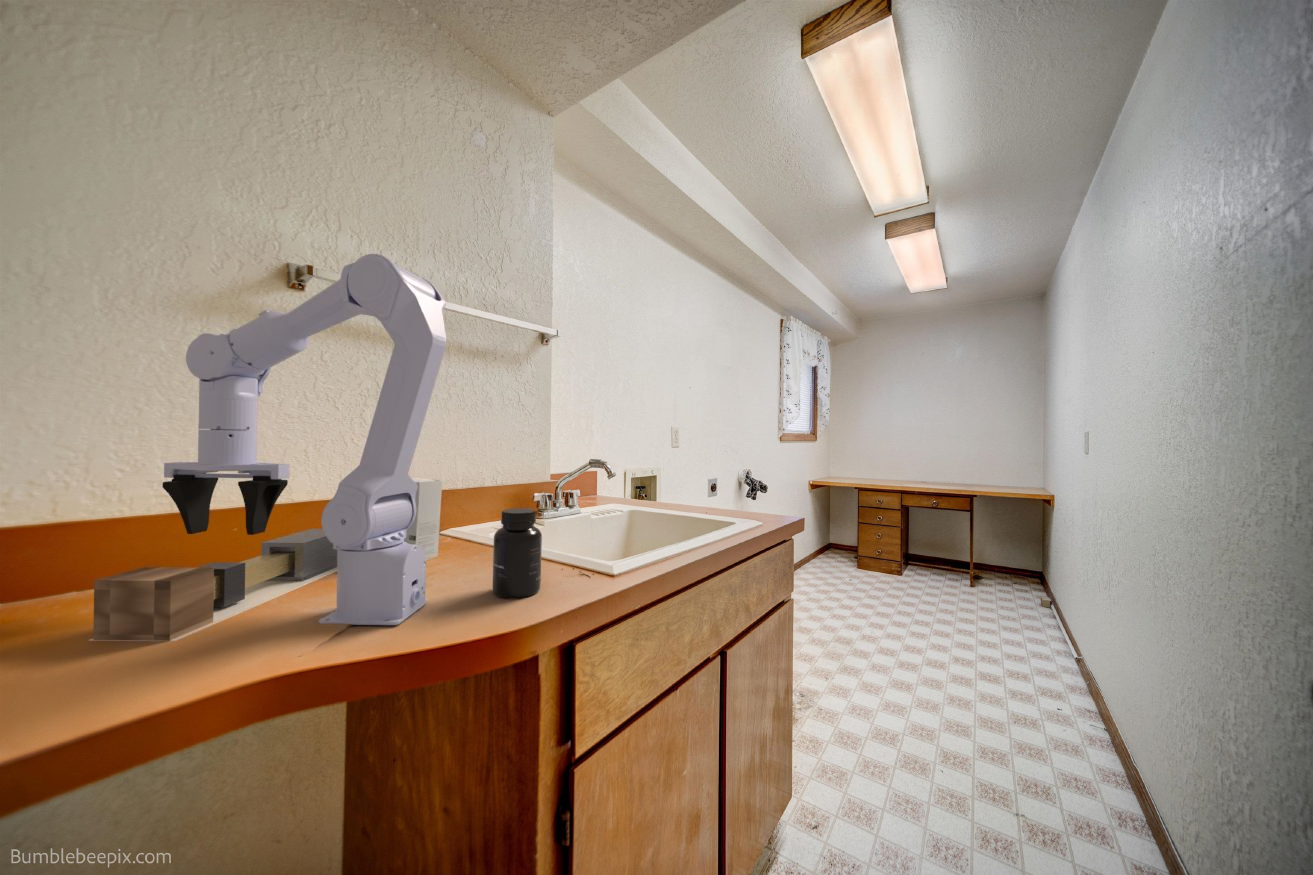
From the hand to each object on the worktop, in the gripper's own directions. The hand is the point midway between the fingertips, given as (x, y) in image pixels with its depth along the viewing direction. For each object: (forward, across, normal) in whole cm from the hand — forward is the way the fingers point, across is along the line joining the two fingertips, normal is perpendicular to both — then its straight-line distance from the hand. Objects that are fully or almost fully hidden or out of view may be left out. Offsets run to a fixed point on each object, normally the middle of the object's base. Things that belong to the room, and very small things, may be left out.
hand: (226, 533), depth 62 cm
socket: (+9, 0, +9) cm, 13 cm away
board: (+10, -1, -4) cm, 10 cm away
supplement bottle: (+10, -37, -6) cm, 38 cm away
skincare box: (+10, -13, -23) cm, 28 cm away
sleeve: (+9, -1, -14) cm, 17 cm away
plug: (+9, -1, 0) cm, 9 cm away
